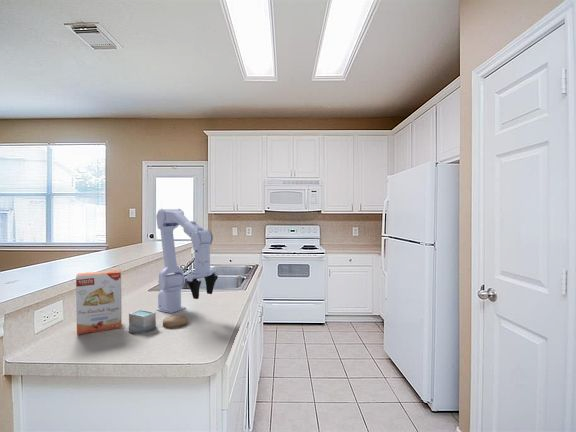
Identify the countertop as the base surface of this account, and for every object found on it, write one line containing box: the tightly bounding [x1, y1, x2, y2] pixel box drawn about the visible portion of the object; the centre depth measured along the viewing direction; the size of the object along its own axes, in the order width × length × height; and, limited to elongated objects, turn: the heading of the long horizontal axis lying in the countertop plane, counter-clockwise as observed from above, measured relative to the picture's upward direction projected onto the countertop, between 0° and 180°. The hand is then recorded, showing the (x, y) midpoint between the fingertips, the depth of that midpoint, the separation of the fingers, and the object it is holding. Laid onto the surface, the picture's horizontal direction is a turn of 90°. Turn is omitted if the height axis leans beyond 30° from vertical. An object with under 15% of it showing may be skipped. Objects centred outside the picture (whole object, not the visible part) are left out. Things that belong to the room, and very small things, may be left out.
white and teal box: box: [128, 309, 157, 328], centre depth 115 cm, size 8×5×4 cm, turn 62°
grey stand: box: [128, 323, 157, 334], centre depth 115 cm, size 9×9×2 cm
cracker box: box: [75, 269, 123, 335], centre depth 115 cm, size 14×6×21 cm, turn 117°
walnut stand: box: [162, 314, 189, 329], centre depth 119 cm, size 9×9×2 cm
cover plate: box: [133, 311, 151, 316], centre depth 114 cm, size 6×3×1 cm, turn 62°
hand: (202, 296), depth 121 cm, fingers open, 7 cm apart
